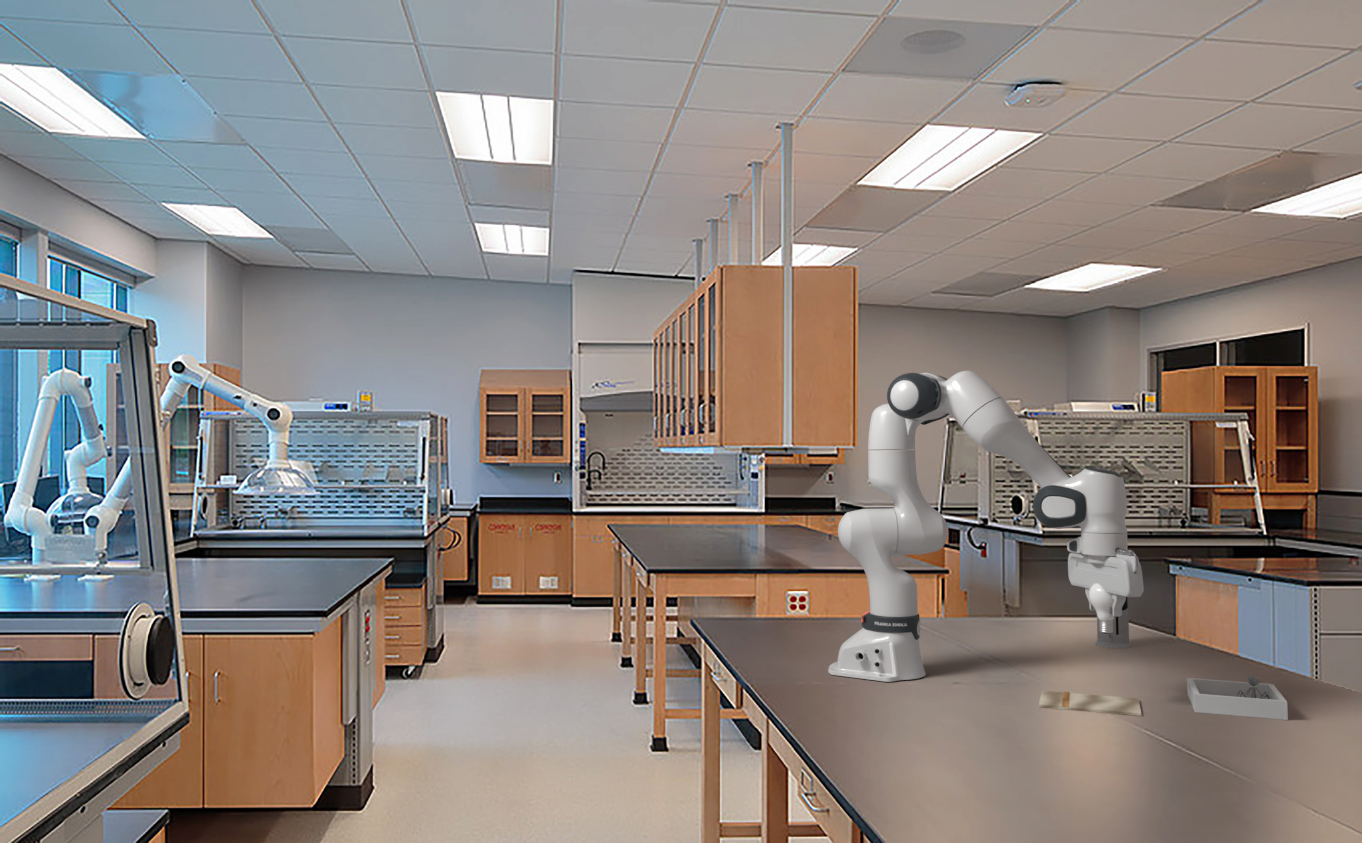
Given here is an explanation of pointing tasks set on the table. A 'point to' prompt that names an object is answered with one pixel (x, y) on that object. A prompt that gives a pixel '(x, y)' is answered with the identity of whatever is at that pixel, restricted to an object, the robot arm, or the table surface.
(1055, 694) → the board
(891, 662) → the robot arm
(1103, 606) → the lightbulb
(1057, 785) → the table surface
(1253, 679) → the bacteriophage
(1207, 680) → the specimen tray
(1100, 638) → the glass holder
